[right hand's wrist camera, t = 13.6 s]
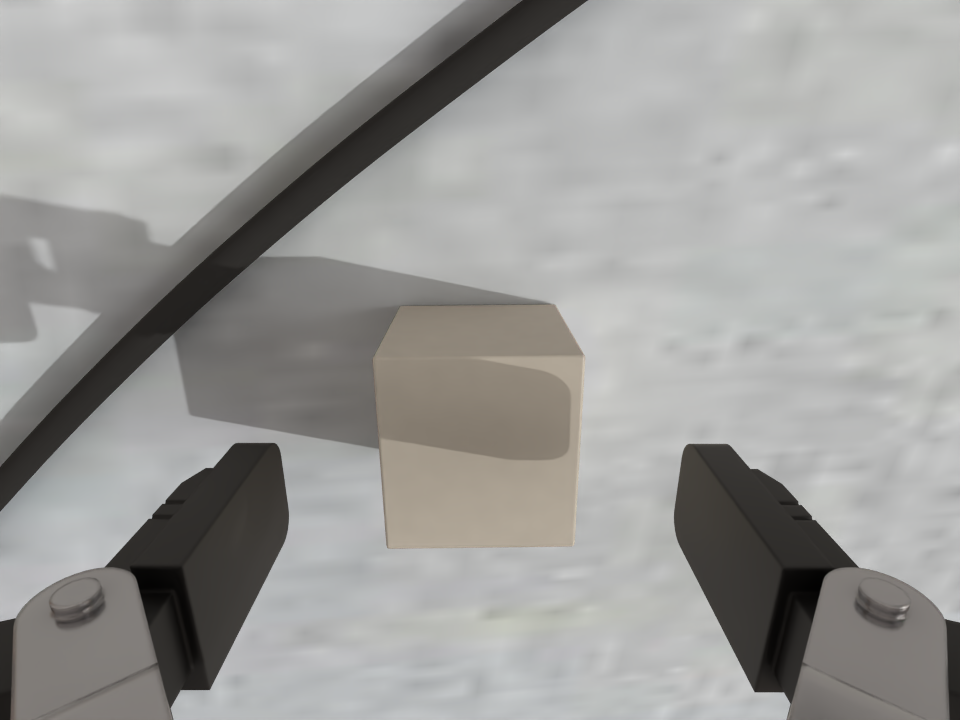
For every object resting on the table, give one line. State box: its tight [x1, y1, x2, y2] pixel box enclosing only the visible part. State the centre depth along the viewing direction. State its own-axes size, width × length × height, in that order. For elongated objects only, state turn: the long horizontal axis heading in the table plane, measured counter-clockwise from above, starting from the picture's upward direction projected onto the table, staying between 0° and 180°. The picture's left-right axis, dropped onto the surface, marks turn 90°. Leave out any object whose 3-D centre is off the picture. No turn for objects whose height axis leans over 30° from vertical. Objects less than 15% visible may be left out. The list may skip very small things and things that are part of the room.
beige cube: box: [372, 304, 585, 549], centre depth 15 cm, size 5×5×5 cm
